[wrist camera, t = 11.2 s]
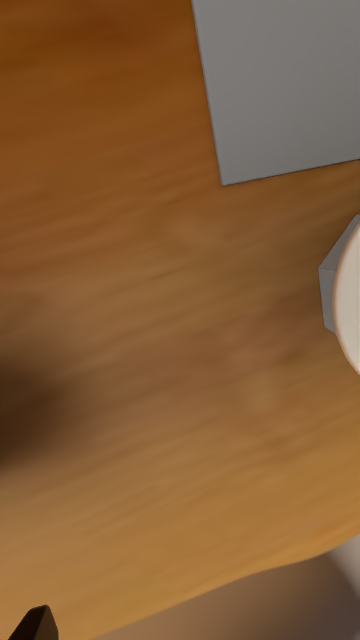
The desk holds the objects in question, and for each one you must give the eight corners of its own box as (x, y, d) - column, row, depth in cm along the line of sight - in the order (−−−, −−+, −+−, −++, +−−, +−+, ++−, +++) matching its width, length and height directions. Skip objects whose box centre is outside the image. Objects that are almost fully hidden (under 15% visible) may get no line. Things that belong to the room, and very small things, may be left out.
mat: (221, 186, 19) (223, 185, 19) (166, -152, 16) (166, -162, 15) (470, 137, 20) (477, 135, 20) (467, -194, 17) (474, -204, 16)
